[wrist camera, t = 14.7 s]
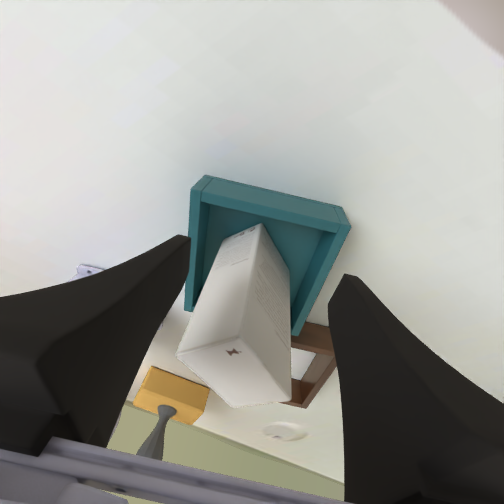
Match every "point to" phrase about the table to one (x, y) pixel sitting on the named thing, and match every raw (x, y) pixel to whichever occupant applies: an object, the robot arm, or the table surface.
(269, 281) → the cosmetic box
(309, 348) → the frame
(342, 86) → the table surface
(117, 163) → the table surface
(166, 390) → the rubber stamp
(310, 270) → the bin
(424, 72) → the table surface
